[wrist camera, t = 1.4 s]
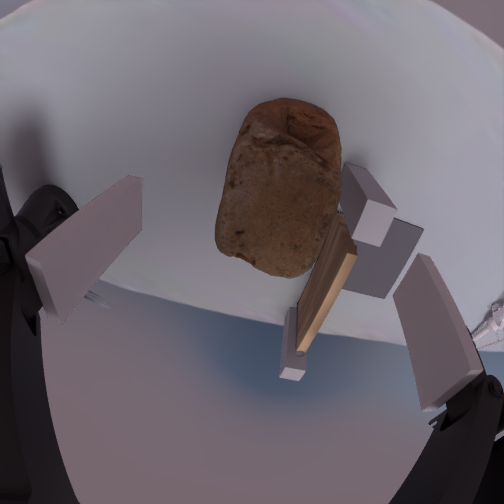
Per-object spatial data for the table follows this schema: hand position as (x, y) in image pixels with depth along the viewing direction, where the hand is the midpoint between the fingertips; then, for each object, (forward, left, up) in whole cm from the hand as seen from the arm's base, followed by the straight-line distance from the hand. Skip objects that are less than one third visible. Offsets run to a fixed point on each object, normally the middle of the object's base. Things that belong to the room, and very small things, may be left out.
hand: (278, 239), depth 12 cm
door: (+9, -16, -23) cm, 29 cm away
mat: (+16, -12, -23) cm, 31 cm away
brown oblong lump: (0, 0, -23) cm, 23 cm away
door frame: (+9, -14, -23) cm, 29 cm away
